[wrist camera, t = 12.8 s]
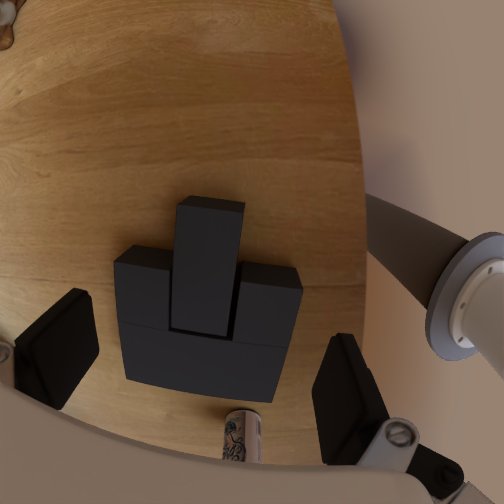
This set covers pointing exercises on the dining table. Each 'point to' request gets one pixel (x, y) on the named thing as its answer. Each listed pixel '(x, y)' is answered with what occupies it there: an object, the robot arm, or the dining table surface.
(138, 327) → the base pad
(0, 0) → the stuffed squirrel
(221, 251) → the pad
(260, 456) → the beer can
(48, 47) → the dining table surface
